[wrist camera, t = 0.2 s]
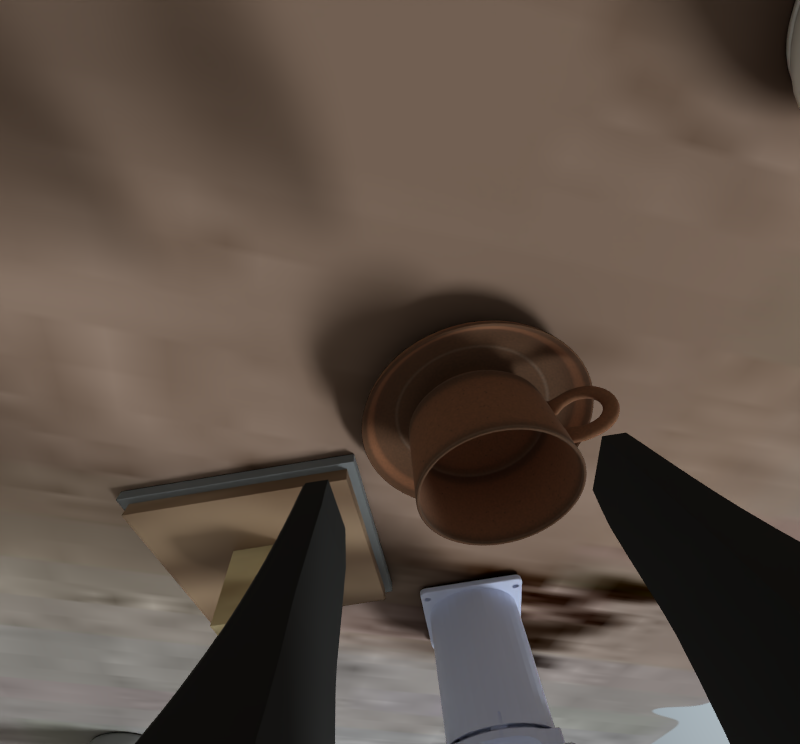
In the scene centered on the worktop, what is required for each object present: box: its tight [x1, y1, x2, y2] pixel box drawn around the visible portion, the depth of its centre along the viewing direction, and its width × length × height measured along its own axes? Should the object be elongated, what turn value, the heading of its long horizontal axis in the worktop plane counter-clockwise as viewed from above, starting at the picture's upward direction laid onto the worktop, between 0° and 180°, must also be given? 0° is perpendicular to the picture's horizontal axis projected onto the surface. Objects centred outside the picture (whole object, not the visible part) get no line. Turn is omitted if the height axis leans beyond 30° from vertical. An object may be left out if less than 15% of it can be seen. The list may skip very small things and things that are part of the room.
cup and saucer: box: [362, 321, 620, 545], centre depth 19 cm, size 12×12×6 cm
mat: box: [116, 454, 392, 592], centre depth 27 cm, size 14×14×1 cm
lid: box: [122, 469, 385, 635], centre depth 24 cm, size 13×13×5 cm
